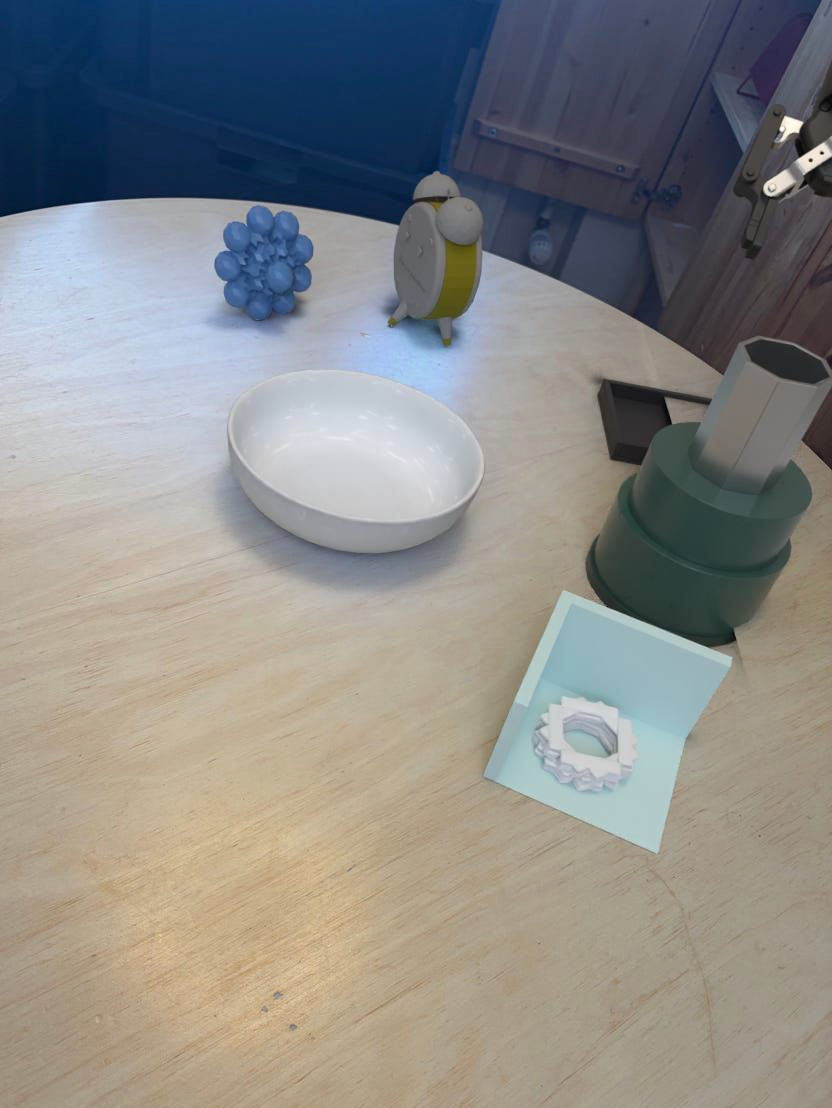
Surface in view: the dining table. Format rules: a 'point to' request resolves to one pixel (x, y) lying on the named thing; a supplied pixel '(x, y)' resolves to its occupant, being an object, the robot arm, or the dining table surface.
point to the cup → (759, 414)
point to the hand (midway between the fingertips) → (810, 272)
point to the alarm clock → (437, 254)
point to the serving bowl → (353, 459)
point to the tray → (635, 417)
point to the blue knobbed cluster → (264, 262)
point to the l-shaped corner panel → (605, 718)
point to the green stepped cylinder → (693, 544)
